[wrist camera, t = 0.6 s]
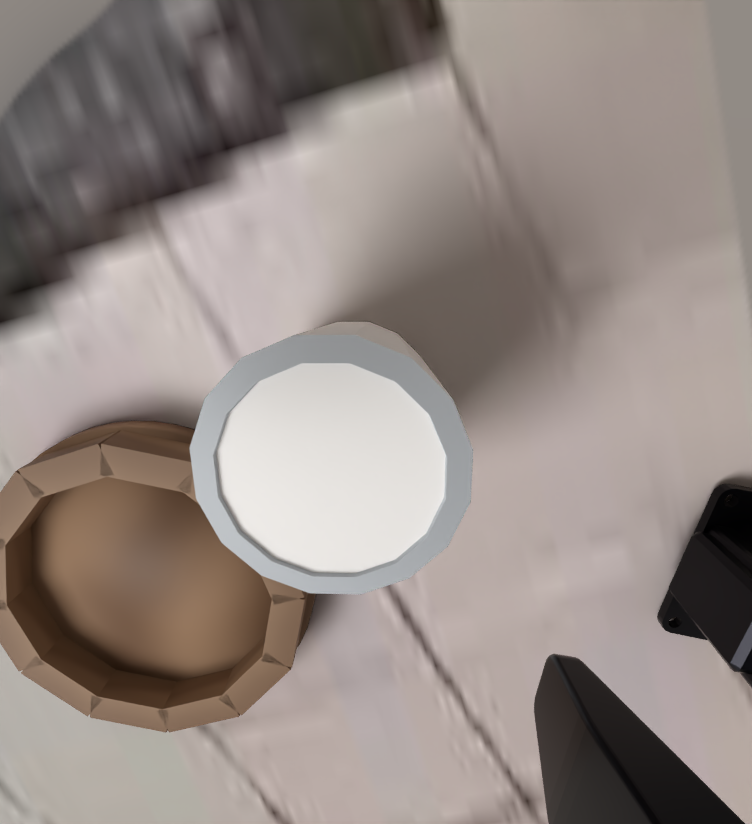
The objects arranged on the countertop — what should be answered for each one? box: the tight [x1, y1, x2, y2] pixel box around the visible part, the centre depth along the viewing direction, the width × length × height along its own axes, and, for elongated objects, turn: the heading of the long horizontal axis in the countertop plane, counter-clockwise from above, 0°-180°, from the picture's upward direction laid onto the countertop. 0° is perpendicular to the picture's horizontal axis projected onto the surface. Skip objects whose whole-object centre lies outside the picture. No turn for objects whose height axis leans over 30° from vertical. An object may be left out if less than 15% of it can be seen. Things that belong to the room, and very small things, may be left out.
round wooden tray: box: [0, 421, 316, 732], centre depth 20 cm, size 13×13×2 cm
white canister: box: [190, 322, 473, 594], centre depth 15 cm, size 7×7×7 cm
